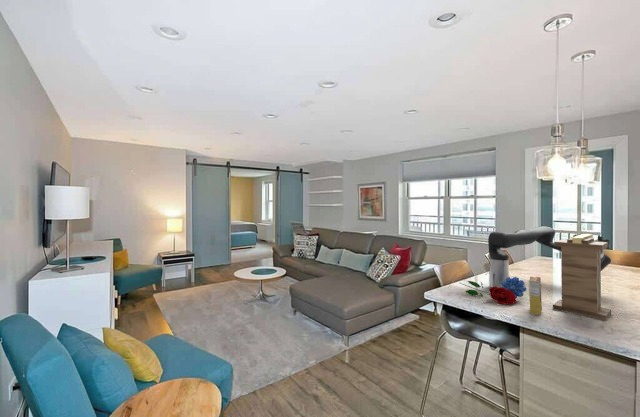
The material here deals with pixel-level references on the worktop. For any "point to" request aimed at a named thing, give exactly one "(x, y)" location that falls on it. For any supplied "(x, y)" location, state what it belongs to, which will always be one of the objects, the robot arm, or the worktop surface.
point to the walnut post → (581, 278)
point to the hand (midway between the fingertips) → (586, 236)
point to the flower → (495, 294)
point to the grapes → (514, 286)
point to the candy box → (535, 295)
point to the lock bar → (581, 238)
